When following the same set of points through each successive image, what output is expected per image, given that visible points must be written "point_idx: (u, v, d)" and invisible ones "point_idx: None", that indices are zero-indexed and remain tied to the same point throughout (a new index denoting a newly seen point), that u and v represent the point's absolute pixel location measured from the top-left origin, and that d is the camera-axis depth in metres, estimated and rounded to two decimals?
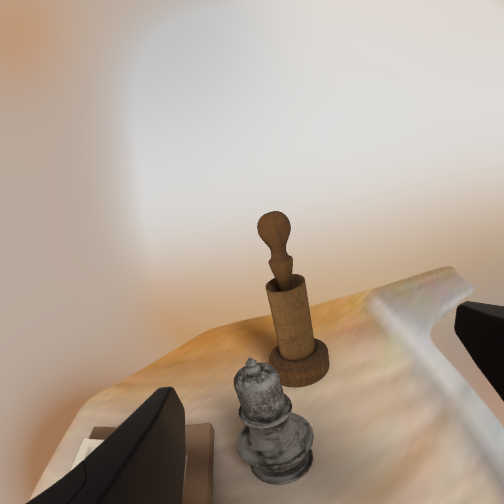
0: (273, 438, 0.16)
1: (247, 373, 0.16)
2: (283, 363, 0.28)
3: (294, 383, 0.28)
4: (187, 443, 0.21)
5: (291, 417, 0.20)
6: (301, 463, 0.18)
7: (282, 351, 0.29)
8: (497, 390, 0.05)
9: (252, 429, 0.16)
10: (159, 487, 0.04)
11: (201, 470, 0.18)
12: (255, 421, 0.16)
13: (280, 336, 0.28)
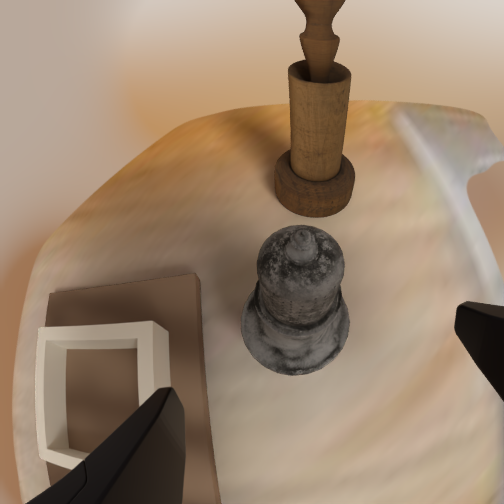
0: (303, 339, 0.12)
1: (290, 259, 0.08)
2: (297, 183, 0.20)
3: (308, 211, 0.22)
4: (166, 309, 0.18)
5: None
6: None
7: (297, 166, 0.20)
8: (497, 391, 0.05)
9: None
10: (159, 487, 0.04)
11: (190, 356, 0.17)
12: (287, 325, 0.11)
13: (299, 146, 0.18)
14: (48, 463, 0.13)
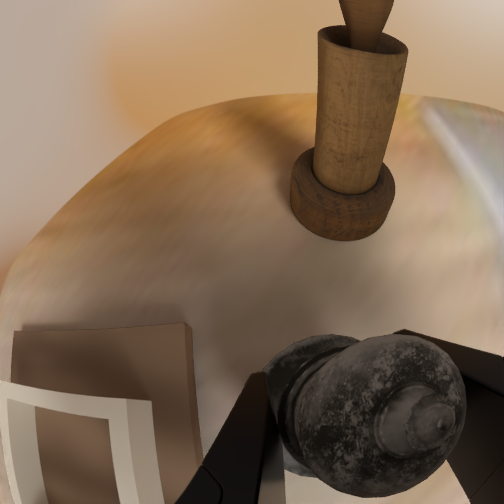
0: None
1: (387, 448, 0.03)
2: (324, 197, 0.15)
3: (336, 234, 0.16)
4: (147, 371, 0.13)
5: None
6: None
7: (324, 172, 0.14)
8: None
9: None
10: (277, 478, 0.04)
11: (181, 435, 0.11)
12: None
13: (330, 145, 0.13)
14: None
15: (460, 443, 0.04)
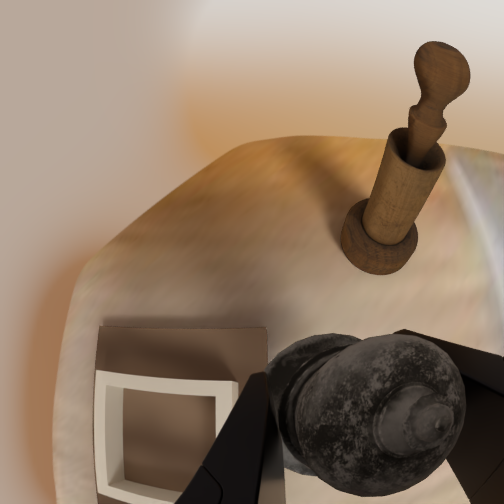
0: None
1: (386, 448, 0.03)
2: (369, 245, 0.20)
3: (372, 270, 0.22)
4: (236, 361, 0.19)
5: None
6: None
7: (371, 228, 0.20)
8: None
9: None
10: (277, 478, 0.04)
11: None
12: None
13: (380, 214, 0.18)
14: None
15: (460, 443, 0.04)
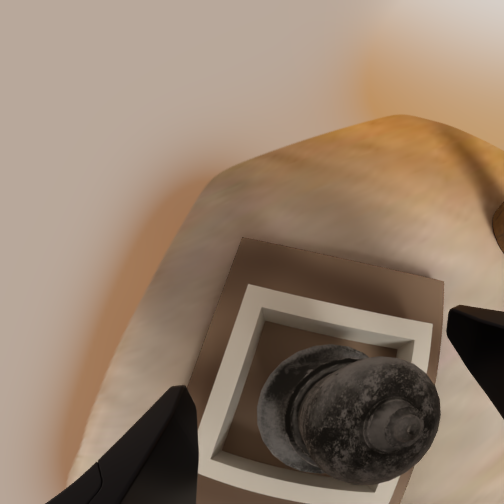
0: None
1: (373, 446, 0.03)
2: None
3: None
4: (415, 310, 0.15)
5: None
6: None
7: None
8: (489, 397, 0.05)
9: None
10: (174, 487, 0.04)
11: (430, 367, 0.13)
12: None
13: None
14: None
15: None
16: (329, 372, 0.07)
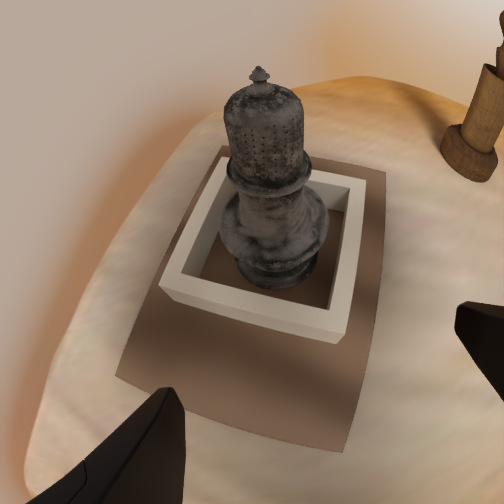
0: (277, 217, 0.13)
1: (250, 94, 0.08)
2: (465, 146, 0.19)
3: (465, 171, 0.21)
4: None
5: None
6: None
7: (467, 133, 0.19)
8: (497, 390, 0.05)
9: (247, 199, 0.12)
10: (159, 487, 0.04)
11: (376, 228, 0.18)
12: (255, 184, 0.11)
13: (475, 118, 0.17)
14: (144, 306, 0.17)
15: None
16: None
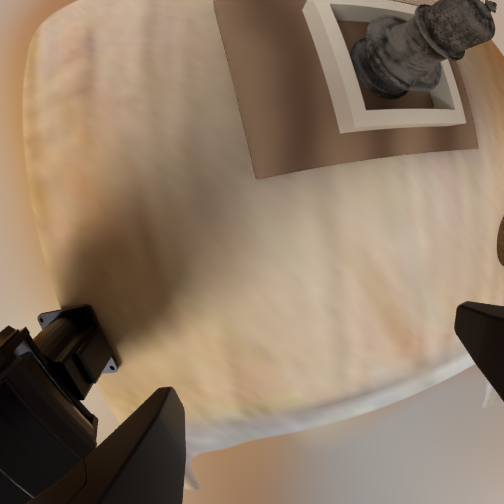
0: (410, 48, 0.10)
1: (476, 2, 0.05)
2: None
3: (502, 234, 0.20)
4: (457, 124, 0.17)
5: (436, 64, 0.12)
6: (388, 88, 0.16)
7: None
8: (497, 390, 0.05)
9: (411, 23, 0.09)
10: (159, 487, 0.04)
11: (435, 144, 0.17)
12: (425, 23, 0.08)
13: None
14: None
15: None
16: None
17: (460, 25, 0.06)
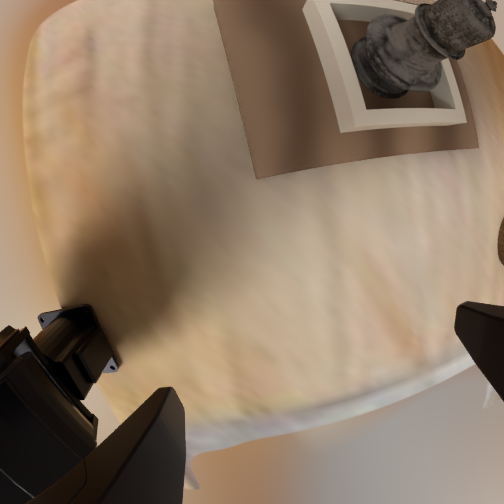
0: (411, 47, 0.10)
1: (477, 1, 0.05)
2: None
3: (503, 234, 0.20)
4: (458, 124, 0.17)
5: (437, 63, 0.12)
6: (388, 87, 0.16)
7: None
8: (497, 391, 0.05)
9: (411, 22, 0.09)
10: (159, 487, 0.04)
11: (435, 143, 0.17)
12: (425, 22, 0.08)
13: None
14: None
15: None
16: None
17: (460, 24, 0.06)
